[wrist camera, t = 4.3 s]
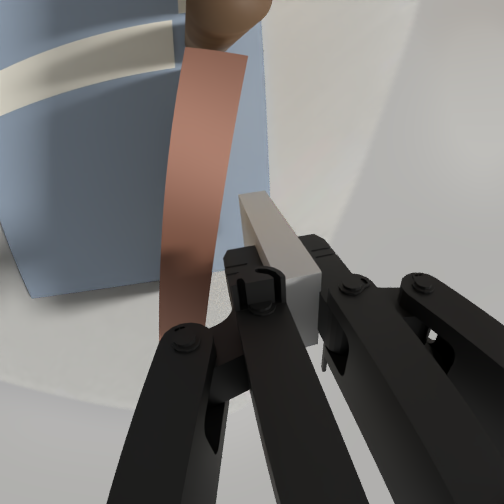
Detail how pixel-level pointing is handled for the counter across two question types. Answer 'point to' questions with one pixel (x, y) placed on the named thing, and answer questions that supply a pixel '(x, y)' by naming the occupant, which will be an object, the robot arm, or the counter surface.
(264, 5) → the brown wall panel
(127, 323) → the counter surface
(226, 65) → the swing panel
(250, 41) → the card
